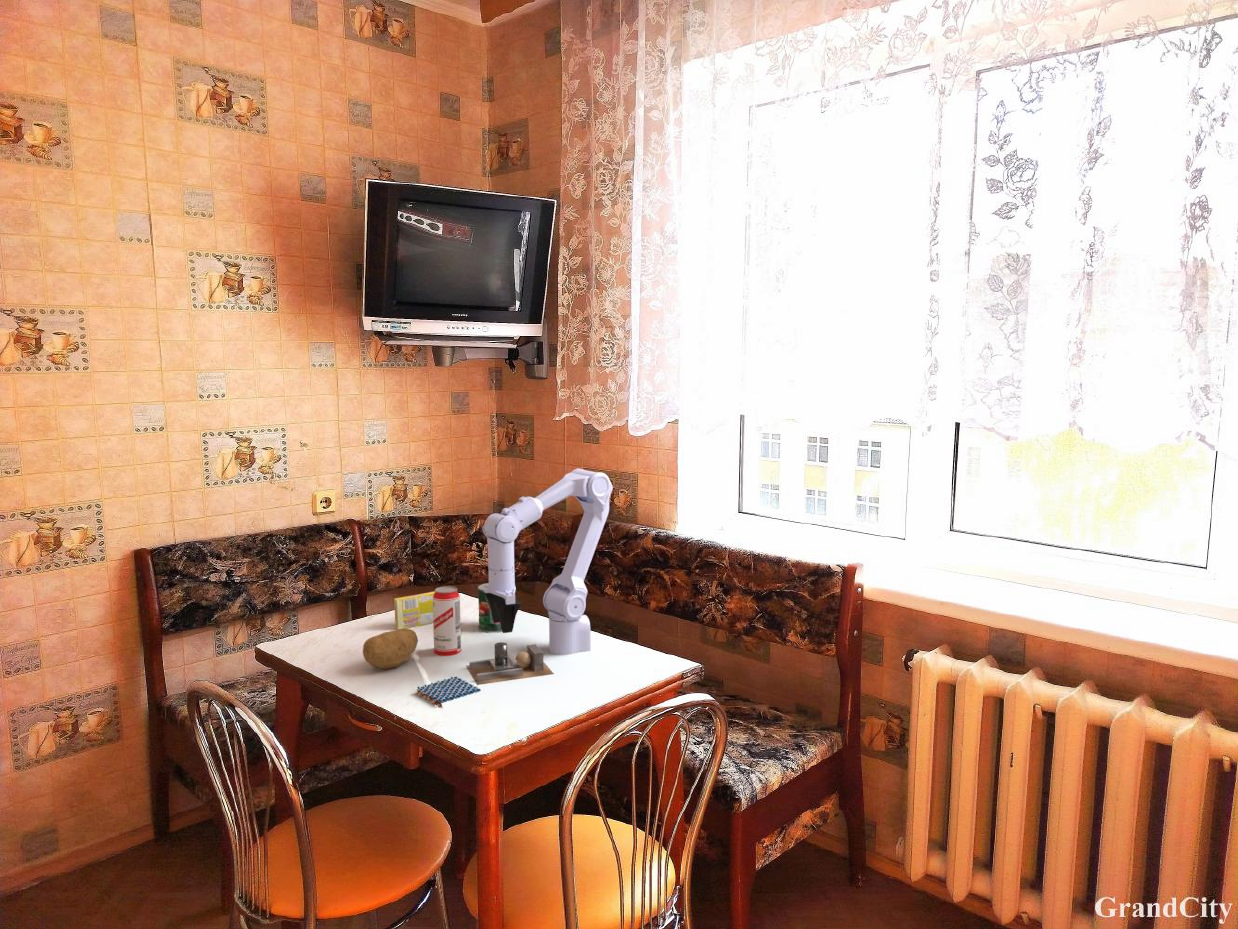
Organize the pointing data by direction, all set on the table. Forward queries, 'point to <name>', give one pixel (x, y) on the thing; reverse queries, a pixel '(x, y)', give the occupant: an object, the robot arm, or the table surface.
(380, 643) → the potato
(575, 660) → the table surface
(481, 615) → the canned tomato
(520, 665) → the walnut
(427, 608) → the candy box
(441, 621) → the beer can
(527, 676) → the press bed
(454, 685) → the woven mat
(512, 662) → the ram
